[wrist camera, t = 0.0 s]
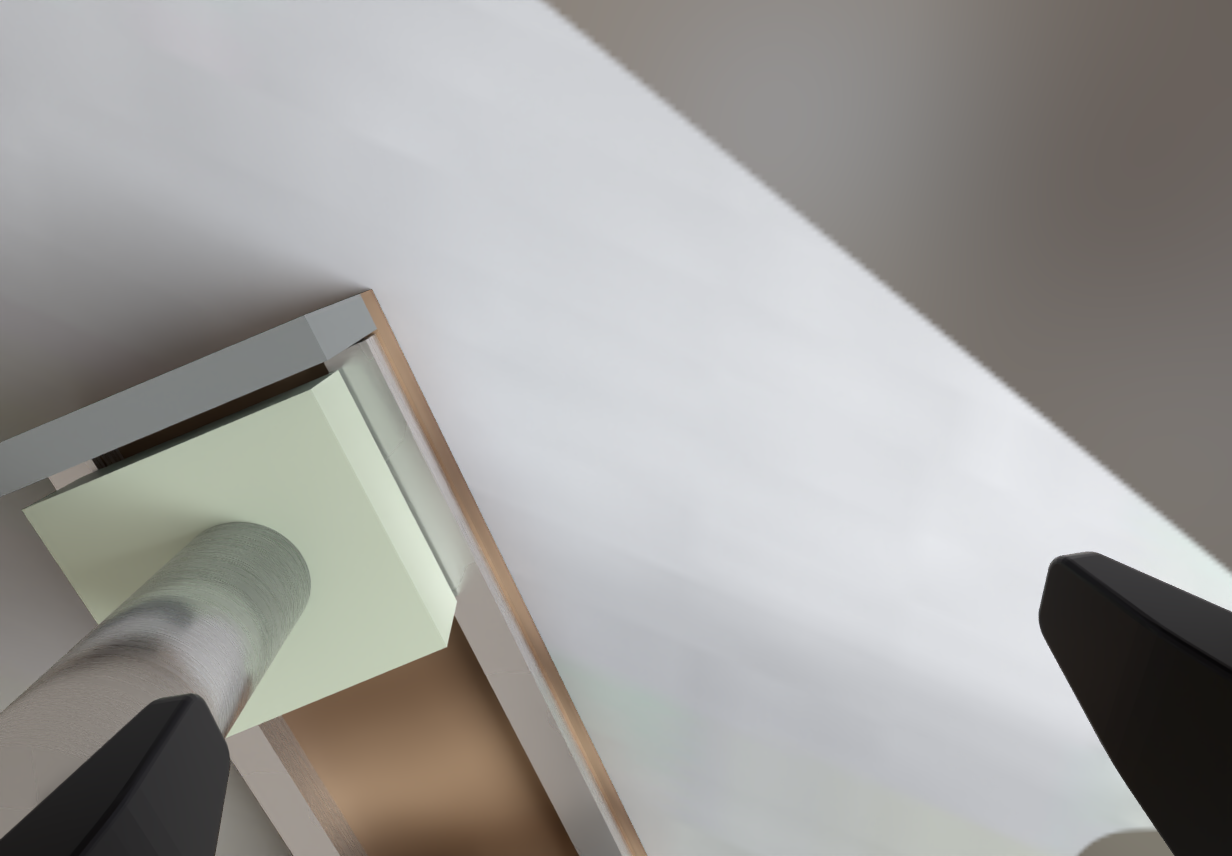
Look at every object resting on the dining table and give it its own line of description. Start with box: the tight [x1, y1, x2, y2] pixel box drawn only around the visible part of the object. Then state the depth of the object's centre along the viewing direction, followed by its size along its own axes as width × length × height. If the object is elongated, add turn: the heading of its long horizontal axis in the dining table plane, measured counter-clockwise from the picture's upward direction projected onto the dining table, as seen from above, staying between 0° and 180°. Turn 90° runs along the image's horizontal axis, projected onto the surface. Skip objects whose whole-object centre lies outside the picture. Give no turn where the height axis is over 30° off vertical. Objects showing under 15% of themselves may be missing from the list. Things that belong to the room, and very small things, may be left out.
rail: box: [0, 289, 647, 856], centre depth 22 cm, size 23×9×8 cm, turn 22°
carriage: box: [0, 370, 457, 839], centre depth 16 cm, size 7×7×10 cm
